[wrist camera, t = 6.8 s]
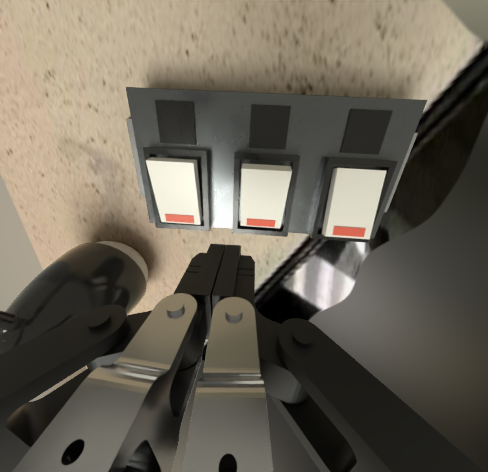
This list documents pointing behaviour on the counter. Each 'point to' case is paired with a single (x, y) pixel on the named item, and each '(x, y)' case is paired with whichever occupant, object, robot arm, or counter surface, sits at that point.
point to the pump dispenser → (75, 290)
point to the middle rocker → (264, 194)
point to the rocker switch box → (270, 148)
